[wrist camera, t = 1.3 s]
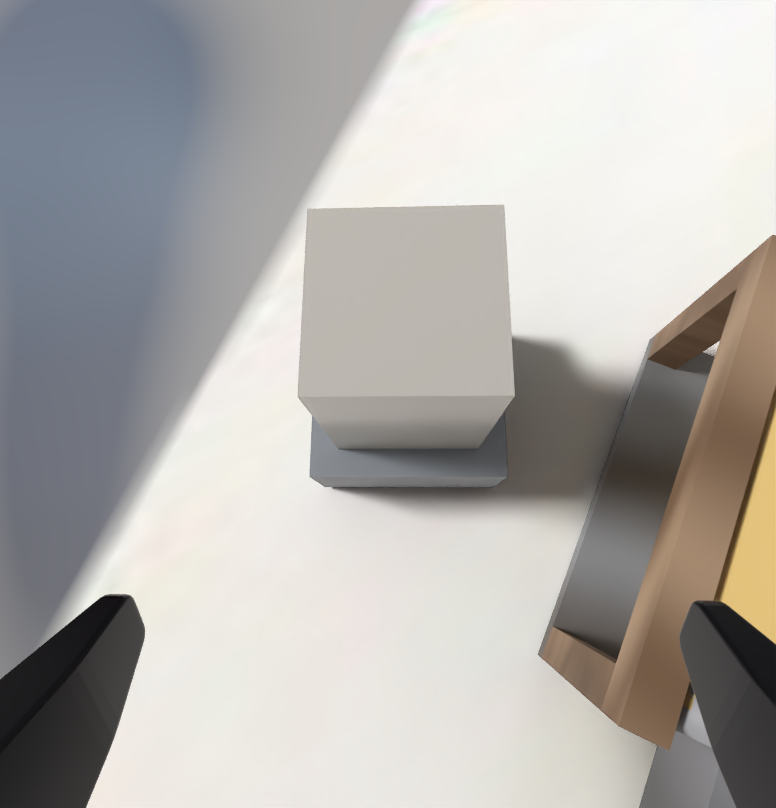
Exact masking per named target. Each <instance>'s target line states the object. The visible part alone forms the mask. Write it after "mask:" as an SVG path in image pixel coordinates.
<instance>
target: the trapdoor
mask: <svg viewBox="0 0 776 808" xmlns="http://www.w3.org/2000/svg"><path fill="white" fill-rule="evenodd" d="M713 601H721V602H723V603H725V604H727V605H728V606H730V607H731V608H732V609H733V610H734V611H736V612H737V613H738V614H739V615H741V616H742V617H743V618H744V619H746V620H747V621H748V622H749V623H750V624H752V625H753V626H754V627H755V628H757V629H758V630H759V631H760V632H762V633H763V634H764V635H765V636H767V637H768V638H769V639H770V640H771V641H773V642H774V643H775V644H776V386H775V390H774V393H773V396H772V400H771V403H770V407H769V410H768V414H767V417H766V421H765V424H764V427H763V431H762V434H761V438H760V441H759V445H758V448H757V452H756V455H755V458H754V462H753V465H752V469H751V472H750V476H749V479H748V483H747V486H746V489H745V493H744V496H743V500H742V503H741V507H740V510H739V514H738V517H737V520H736V524H735V527H734V531H733V534H732V538H731V541H730V545H729V548H728V551H727V555H726V558H725V562H724V565H723V569H722V572H721V576H720V579H719V582H718V586H717V589H716V593H715V596H714V600H713ZM639 808H736V806H735V804H734V802H733V799H732V797H731V795H730V792H729V790H728V787H727V785H726V783H725V780H724V778H723V775H722V773H721V771H720V768H719V766H718V763H717V761H716V758H715V756H714V753H713V750H712V747H711V744H710V741H709V739H708V736H707V732H706V729H705V726H704V723H703V720H702V716H701V713H700V710H699V707H698V703H697V700H696V697H695V694H694V690H693V687H692V684H691V681H690V682H689V686H688V689H687V693H686V696H685V700H684V703H683V706H682V710H681V713H680V717H679V720H678V724H677V727H676V731H675V734H674V737H673V741H672V744H671V748H670V751H668V750H666V749H664V748H662V747H660V746H657V749H656V752H655V756H654V759H653V763H652V766H651V769H650V773H649V776H648V780H647V783H646V786H645V790H644V793H643V796H642V800H641V803H640V807H639Z"/></svg>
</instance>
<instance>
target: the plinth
mask: <svg viewBox="0 0 776 808" xmlns="http://www.w3.org/2000/svg"><path fill="white" fill-rule="evenodd" d="M310 477H311V478H312V479H314V480H315V481H317V482H318V483H320V484H321V485H323V486H325V487H494V486H496V485H497V484H499V483H500V482H501V481H503V480H504V479H506V478H507V477H508V470H507V450H506V431H505V411H504V412H503V414H502V415H501V416H500V418H499V419H498V421H497V422H496V424H495V425H494V427H493V428H492V429H491V431H490V432H489V434H488V435H487V437H486V438H485V440H484V441H483V442H482V444H481V445H480V447H479V448H478V449H338V448H337V447H336V445H335V444H334V443H333V441H332V440H331V439H330V438H329V436H328V435H327V434H326V433H325V431H324V430H323V429H322V427H321V426H320V425H319V424H318V422H317V421H316V420H315V418H314V417H313V416H312V433H311V456H310Z"/></svg>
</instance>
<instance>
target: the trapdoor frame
mask: <svg viewBox="0 0 776 808" xmlns="http://www.w3.org/2000/svg"><path fill="white" fill-rule="evenodd" d="M718 341H720V343H719V346H718V349H717V352H716V355H715V357H714V356H711V355H708V354H706V353H703V351H705V350H706V349H708V348H709V347H711V346H712V345H714V344H715V343H717V342H718ZM775 386H776V236H775V235H772V236H771V237H769V238H768V239H767V240H766V241H765V242H764V243H762V244H761V245H760V246H759V247H758V248H757V249H755V250H754V251H753V252H752V253H751V254H750V255H748V256H747V257H746V258H745V259H744V260H743V261H741V262H740V263H739V264H738V265H737V266H736V267H734V268H733V269H732V270H731V271H730V272H729V273H727V274H726V275H725V276H724V277H723V278H722V279H720V280H719V281H718V282H717V283H716V284H715V285H713V286H712V287H711V288H710V289H709V290H708V291H706V292H705V293H704V294H703V295H702V296H701V297H699V298H698V299H697V300H696V301H695V302H694V303H692V304H691V305H690V306H689V307H688V308H687V309H685V310H684V311H683V312H682V313H681V314H680V315H678V316H677V317H676V318H675V319H674V320H673V321H671V322H670V323H669V324H668V325H667V326H666V327H664V328H663V329H662V330H661V331H660V332H659V333H657V334H656V335H655V336H654V337H653V338H652V339H650V341H649V344H648V347H647V349H646V352H645V355H644V358H643V361H642V363H641V366H640V369H639V372H638V375H637V377H636V380H635V383H634V386H633V389H632V391H631V394H630V397H629V400H628V403H627V406H626V408H625V411H624V414H623V417H622V420H621V422H620V425H619V428H618V431H617V434H616V436H615V439H614V442H613V445H612V448H611V450H610V453H609V456H608V459H607V462H606V465H605V467H604V470H603V473H602V476H601V479H600V481H599V484H598V487H597V490H596V493H595V495H594V498H593V501H592V504H591V507H590V509H589V512H588V515H587V518H586V521H585V524H584V526H583V529H582V532H581V535H580V538H579V540H578V543H577V546H576V549H575V552H574V554H573V557H572V560H571V563H570V566H569V568H568V571H567V574H566V577H565V580H564V582H563V585H562V588H561V591H560V594H559V597H558V599H557V602H556V605H555V608H554V611H553V613H552V616H551V619H550V622H549V625H548V627H547V630H546V633H545V636H544V639H543V641H542V644H541V647H540V650H539V653H538V655H539V656H540V657H541V658H542V659H543V660H544V661H546V662H547V663H548V664H549V665H550V666H551V667H552V668H554V669H555V670H556V671H557V672H558V673H559V674H560V675H561V676H563V677H564V678H565V679H566V680H567V681H568V682H569V683H570V684H572V685H573V686H574V687H575V688H576V689H577V690H578V691H580V692H581V693H582V694H583V695H584V696H585V697H586V698H587V699H589V700H590V701H591V702H592V703H593V704H594V705H595V706H596V707H598V708H599V709H600V710H601V711H602V712H603V713H604V714H606V715H607V716H608V717H609V718H610V719H611V720H612V721H613V722H615V723H616V724H617V725H618V726H619V727H621V728H624V729H626V730H628V731H630V732H632V733H634V734H636V735H638V736H640V737H642V738H644V739H646V740H648V741H650V742H652V743H654V744H656V745H658V746H660V747H662V748H664V749H666V750H668V751H670V748H671V744H672V741H673V737H674V734H675V731H676V727H677V724H678V720H679V717H680V713H681V710H682V706H683V703H684V700H685V696H686V693H687V689H688V686H689V682H690V678H689V674H688V671H687V668H686V665H685V661H684V658H683V655H682V652H681V648H680V643H679V636H680V631H681V629H682V626H683V623H684V621H685V618H686V616H687V613H688V611H689V608H690V606H691V604H692V603H693V602H695V601H698V600H712V601H713V600H714V596H715V593H716V589H717V586H718V582H719V579H720V576H721V572H722V569H723V565H724V562H725V558H726V555H727V551H728V548H729V545H730V541H731V538H732V534H733V531H734V527H735V524H736V520H737V517H738V514H739V510H740V507H741V503H742V500H743V496H744V493H745V489H746V486H747V483H748V479H749V476H750V472H751V469H752V465H753V462H754V458H755V455H756V452H757V448H758V445H759V441H760V438H761V434H762V431H763V427H764V424H765V421H766V417H767V414H768V410H769V407H770V403H771V400H772V396H773V393H774V390H775Z"/></svg>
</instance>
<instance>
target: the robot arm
mask: <svg viewBox="0 0 776 808" xmlns="http://www.w3.org/2000/svg"><path fill="white" fill-rule="evenodd" d="M144 638H145V627H144V623H143V621H142V618H141V616H140V613H139V611H138V608H137V606H136V603H135V601H134V599H133V597H131V596H130V595H127V594H109V595H105V596H103V597H101V598H100V599H98V600H97V601H96V602H95V603H93V604H92V605H91V606H90V607H88V608H87V609H86V610H85V611H84V612H82V613H81V614H80V615H79V616H77V617H76V618H75V619H74V620H73V621H71V622H70V623H69V624H68V625H66V626H65V627H64V628H63V629H61V630H60V631H59V632H58V633H57V634H55V635H54V636H53V637H52V638H50V639H49V640H48V641H47V642H46V643H44V644H43V645H42V646H41V647H39V648H38V649H37V650H36V651H34V652H33V653H32V654H31V655H30V656H28V657H27V658H26V659H25V660H23V661H22V662H21V663H20V664H19V665H18V666H16V667H15V668H14V669H12V670H11V671H10V672H9V673H8V674H6V675H5V676H4V677H3V678H1V679H0V808H86V806H87V804H88V801H89V799H90V797H91V794H92V792H93V789H94V787H95V784H96V782H97V779H98V777H99V775H100V772H101V770H102V767H103V765H104V762H105V760H106V758H107V755H108V753H109V750H110V747H111V745H112V742H113V740H114V737H115V734H116V731H117V728H118V725H119V722H120V718H121V715H122V712H123V709H124V705H125V702H126V699H127V695H128V692H129V689H130V685H131V682H132V679H133V675H134V672H135V669H136V666H137V662H138V659H139V656H140V652H141V649H142V646H143V642H144ZM679 643H680V648H681V652H682V655H683V658H684V661H685V665H686V668H687V671H688V674H689V678H690V681H691V684H692V687H693V690H694V694H695V697H696V700H697V703H698V707H699V710H700V713H701V716H702V720H703V723H704V726H705V729H706V732H707V736H708V739H709V741H710V744H711V747H712V750H713V753H714V756H715V758H716V761H717V763H718V766H719V768H720V771H721V773H722V775H723V778H724V780H725V783H726V785H727V787H728V790H729V792H730V795H731V797H732V799H733V802H734V804H735V806H736V808H776V644H775V643H774V642H773V641H771V640H770V639H769V638H768V637H767V636H765V635H764V634H763V633H762V632H760V631H759V630H758V629H757V628H755V627H754V626H753V625H752V624H750V623H749V622H748V621H747V620H746V619H744V618H743V617H742V616H741V615H739V614H738V613H737V612H736V611H734V610H733V609H732V608H731V607H730V606H728V605H727V604H725V603H723V602H721V601H712V600H698V601H695V602H693V603H692V604H691V606H690V608H689V611H688V613H687V616H686V618H685V621H684V623H683V626H682V629H681V631H680V636H679Z"/></svg>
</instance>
